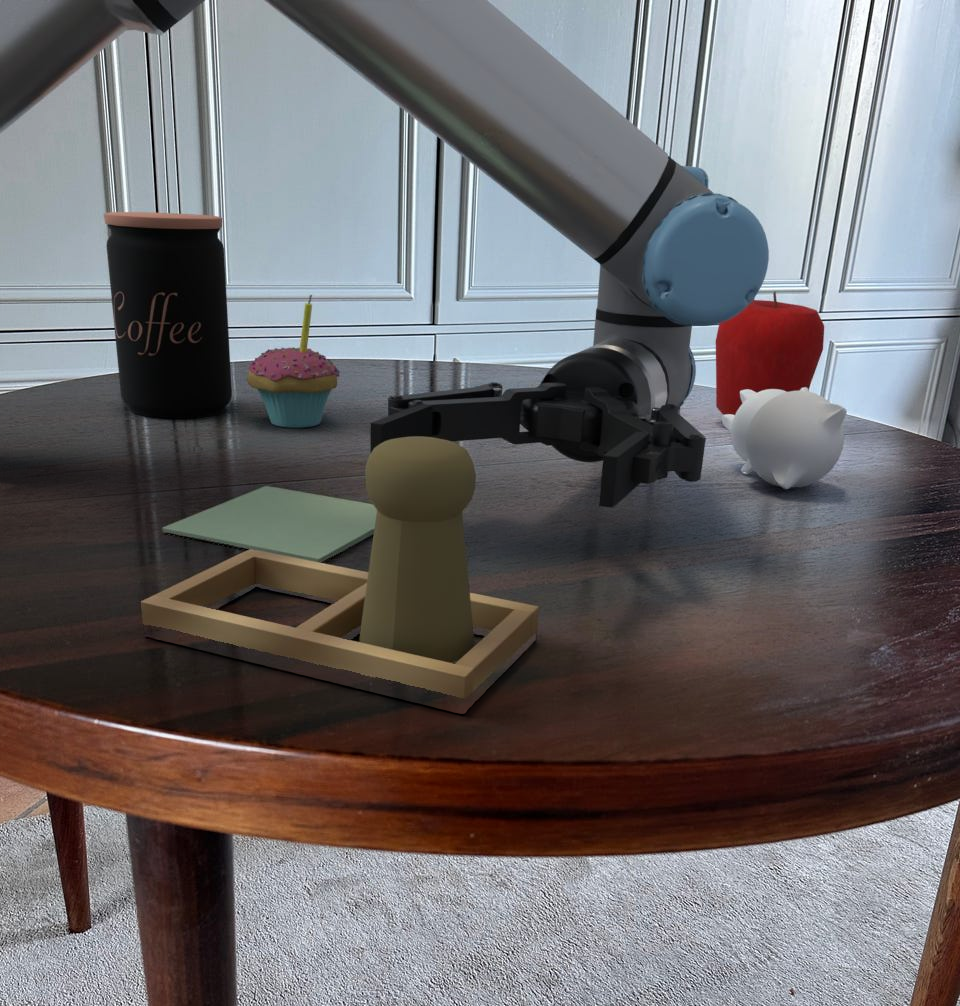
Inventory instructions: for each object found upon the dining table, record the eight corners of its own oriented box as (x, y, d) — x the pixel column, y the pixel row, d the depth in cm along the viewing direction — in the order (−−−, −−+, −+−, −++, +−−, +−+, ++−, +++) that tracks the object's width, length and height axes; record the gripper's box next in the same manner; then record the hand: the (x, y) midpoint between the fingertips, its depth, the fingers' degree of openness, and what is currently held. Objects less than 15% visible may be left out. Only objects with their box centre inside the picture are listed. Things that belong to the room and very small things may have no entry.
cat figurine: (753, 354, 89) (816, 373, 78) (838, 421, 93) (909, 449, 82) (692, 438, 91) (745, 469, 80) (777, 501, 95) (838, 538, 84)
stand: (143, 637, 52) (140, 601, 52) (251, 580, 61) (250, 548, 60) (463, 716, 46) (465, 676, 45) (536, 640, 54) (539, 605, 54)
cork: (413, 622, 56) (417, 420, 51) (500, 655, 52) (512, 442, 48) (331, 655, 51) (328, 438, 47) (420, 694, 48) (425, 464, 44)
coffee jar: (99, 412, 100) (78, 212, 92) (161, 394, 109) (146, 211, 102) (197, 424, 97) (183, 219, 90) (252, 404, 106) (243, 217, 99)
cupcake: (352, 419, 102) (351, 292, 97) (317, 436, 95) (314, 300, 90) (273, 410, 104) (268, 286, 99) (233, 427, 96) (225, 293, 92)
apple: (702, 431, 104) (721, 291, 98) (706, 412, 113) (724, 283, 108) (810, 442, 102) (835, 299, 96) (805, 421, 111) (828, 290, 105)
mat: (162, 533, 68) (161, 527, 67) (266, 490, 78) (266, 485, 78) (319, 564, 63) (318, 558, 63) (407, 515, 74) (407, 510, 73)
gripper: (770, 476, 71) (707, 568, 53) (442, 430, 79) (292, 497, 61) (788, 365, 68) (727, 423, 50) (445, 330, 76) (288, 369, 58)
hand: (486, 464), depth 55 cm, fingers open, 13 cm apart
